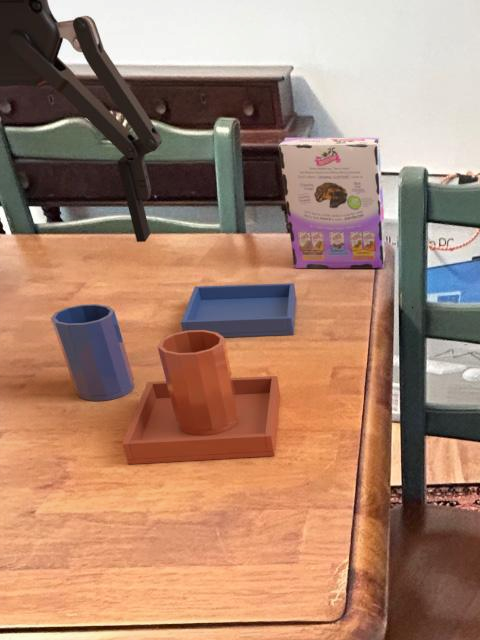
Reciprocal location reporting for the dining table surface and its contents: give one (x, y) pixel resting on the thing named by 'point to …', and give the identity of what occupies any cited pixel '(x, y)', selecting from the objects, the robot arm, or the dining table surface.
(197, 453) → the terracotta tray
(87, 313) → the blue cup
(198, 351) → the terracotta cup
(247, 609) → the dining table surface
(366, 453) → the dining table surface
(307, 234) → the candy box
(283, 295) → the blue tray
